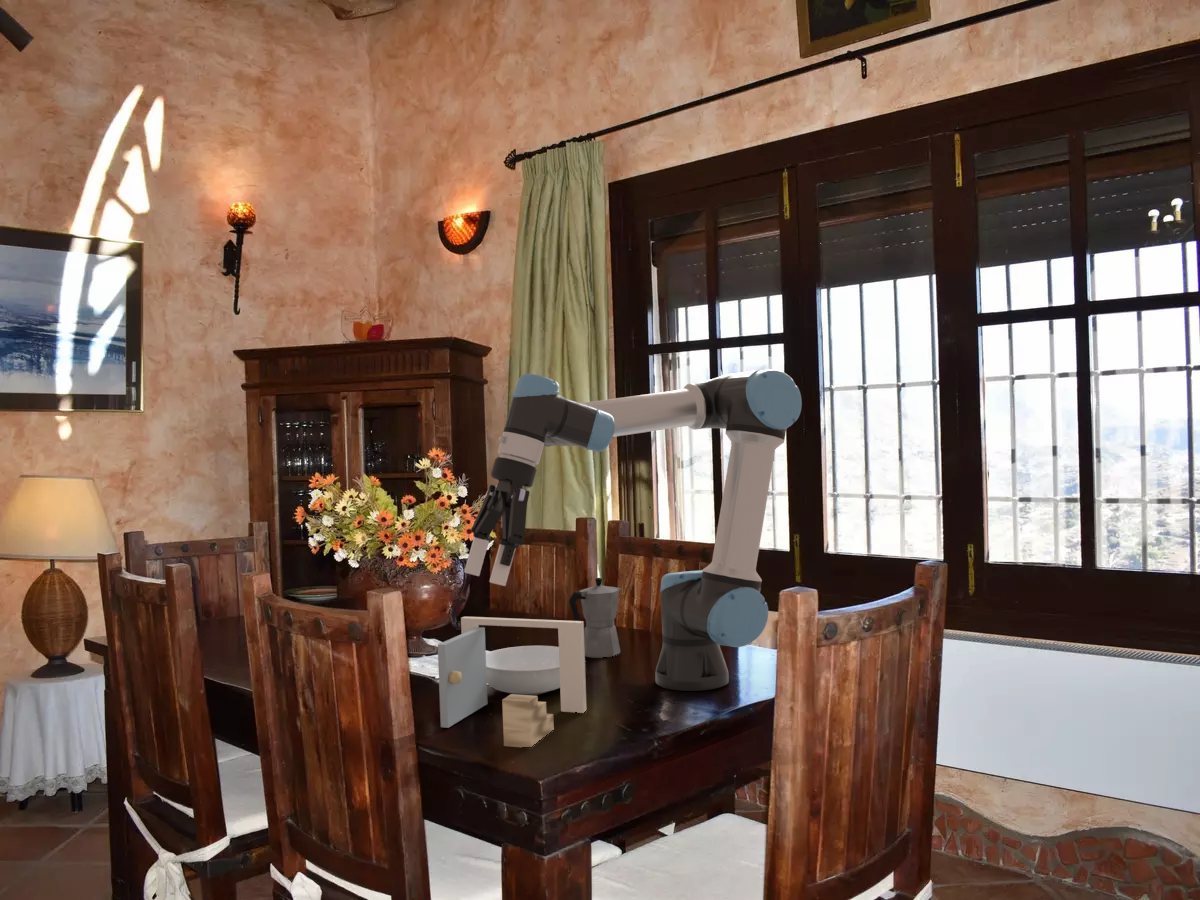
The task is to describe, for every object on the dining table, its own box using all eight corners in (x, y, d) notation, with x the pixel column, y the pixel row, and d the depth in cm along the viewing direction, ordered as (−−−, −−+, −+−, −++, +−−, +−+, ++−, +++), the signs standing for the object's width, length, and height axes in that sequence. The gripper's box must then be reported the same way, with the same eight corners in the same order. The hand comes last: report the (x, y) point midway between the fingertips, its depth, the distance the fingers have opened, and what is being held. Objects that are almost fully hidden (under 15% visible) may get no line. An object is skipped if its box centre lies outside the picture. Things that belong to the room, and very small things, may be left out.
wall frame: (586, 710, 184) (583, 621, 184) (583, 713, 183) (580, 622, 182) (467, 702, 193) (464, 616, 193) (464, 704, 191) (460, 618, 191)
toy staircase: (528, 728, 175) (526, 684, 175) (553, 730, 173) (552, 686, 173) (503, 746, 165) (502, 699, 165) (530, 748, 164) (529, 701, 164)
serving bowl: (487, 709, 188) (486, 673, 188) (472, 682, 208) (471, 650, 208) (591, 697, 194) (590, 663, 193) (567, 672, 214) (565, 641, 214)
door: (456, 728, 175) (452, 645, 175) (440, 727, 176) (437, 644, 176) (496, 703, 190) (493, 626, 190) (482, 702, 191) (479, 626, 191)
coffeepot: (609, 645, 238) (607, 572, 238) (635, 652, 231) (632, 576, 231) (559, 656, 229) (556, 580, 228) (584, 663, 221) (581, 584, 221)
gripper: (474, 454, 181) (442, 565, 178) (523, 455, 158) (487, 583, 156) (511, 465, 184) (480, 575, 181) (564, 468, 161) (529, 593, 159)
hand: (483, 579), depth 169 cm, fingers open, 13 cm apart
